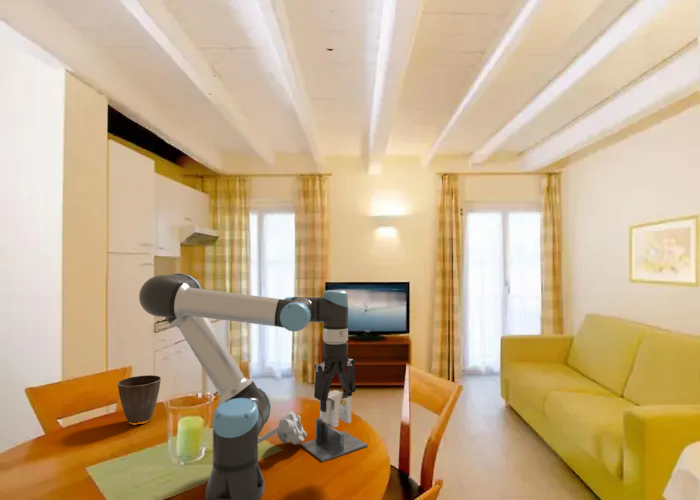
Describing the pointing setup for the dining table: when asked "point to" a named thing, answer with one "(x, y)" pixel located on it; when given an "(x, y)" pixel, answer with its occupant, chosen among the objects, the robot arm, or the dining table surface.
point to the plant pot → (139, 397)
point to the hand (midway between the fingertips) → (335, 419)
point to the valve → (288, 430)
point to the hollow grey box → (338, 408)
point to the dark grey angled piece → (331, 442)
